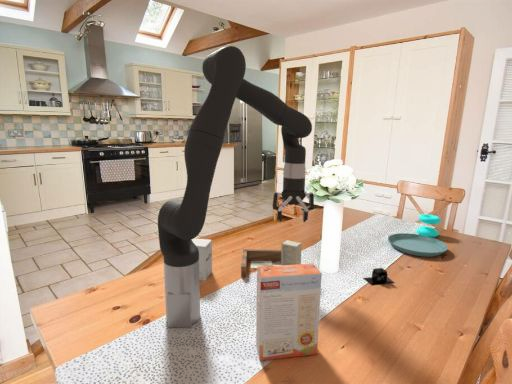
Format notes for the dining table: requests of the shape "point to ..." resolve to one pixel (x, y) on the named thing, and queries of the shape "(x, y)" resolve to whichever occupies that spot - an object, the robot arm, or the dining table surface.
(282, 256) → the skincare box
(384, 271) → the black tapered holder
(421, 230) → the donuts
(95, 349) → the dining table surface
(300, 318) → the cracker box
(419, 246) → the saucer
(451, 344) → the dining table surface
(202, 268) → the supplement box
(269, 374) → the dining table surface
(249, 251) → the wooden corner frame
